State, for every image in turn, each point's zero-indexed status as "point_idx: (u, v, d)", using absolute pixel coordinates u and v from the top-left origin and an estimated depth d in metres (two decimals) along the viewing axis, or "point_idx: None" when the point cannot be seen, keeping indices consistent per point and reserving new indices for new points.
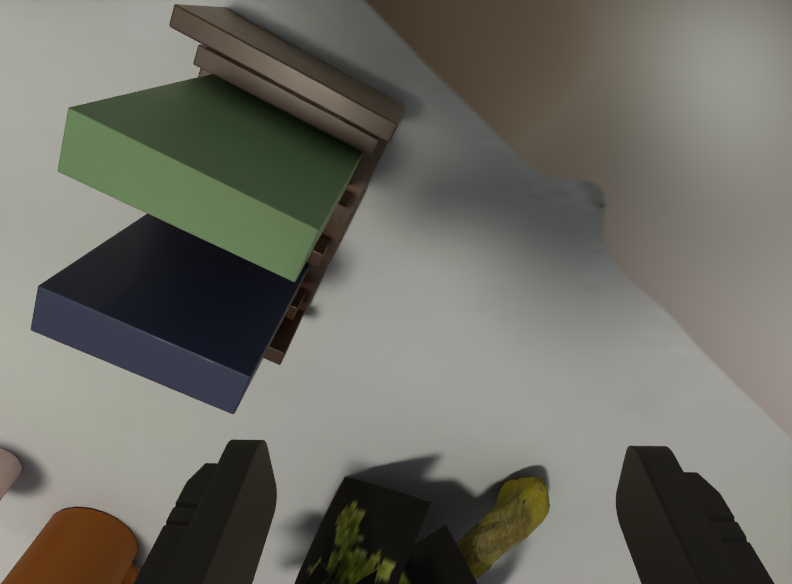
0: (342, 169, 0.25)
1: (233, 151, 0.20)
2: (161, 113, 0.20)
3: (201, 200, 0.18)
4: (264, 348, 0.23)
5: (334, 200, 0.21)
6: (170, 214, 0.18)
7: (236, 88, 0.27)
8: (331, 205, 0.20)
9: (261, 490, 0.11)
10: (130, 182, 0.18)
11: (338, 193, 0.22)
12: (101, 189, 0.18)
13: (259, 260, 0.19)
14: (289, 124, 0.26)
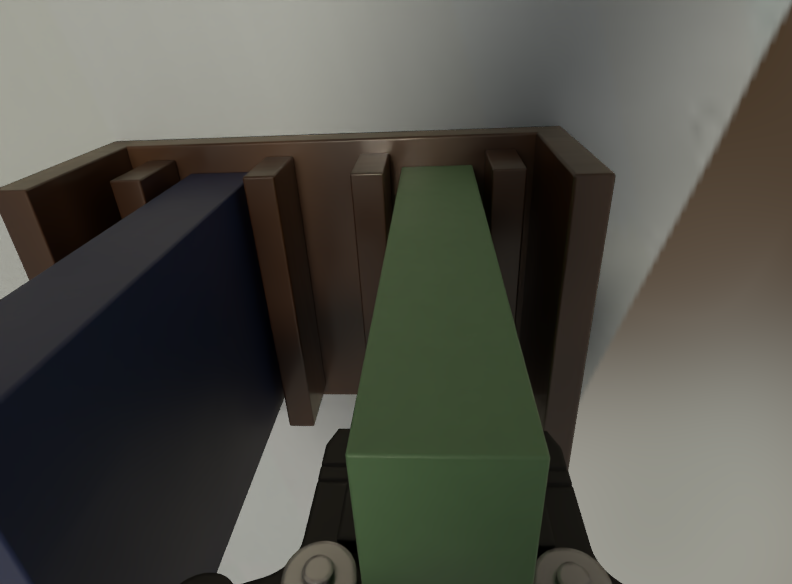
0: None
1: None
2: None
3: None
4: None
5: None
6: None
7: None
8: None
9: None
10: (422, 583, 0.07)
11: None
12: (364, 541, 0.07)
13: None
14: None
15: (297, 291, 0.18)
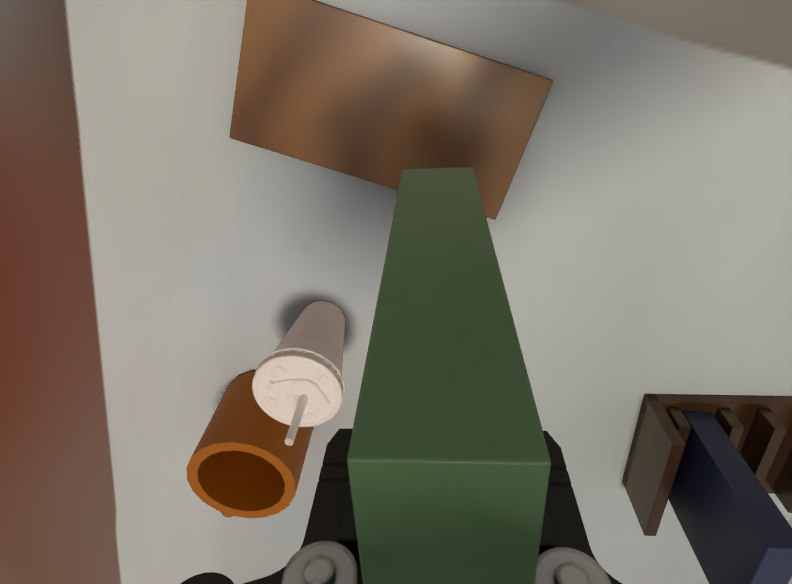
0: None
1: None
2: None
3: None
4: None
5: None
6: None
7: None
8: None
9: None
10: None
11: None
12: (365, 545, 0.07)
13: None
14: None
15: None
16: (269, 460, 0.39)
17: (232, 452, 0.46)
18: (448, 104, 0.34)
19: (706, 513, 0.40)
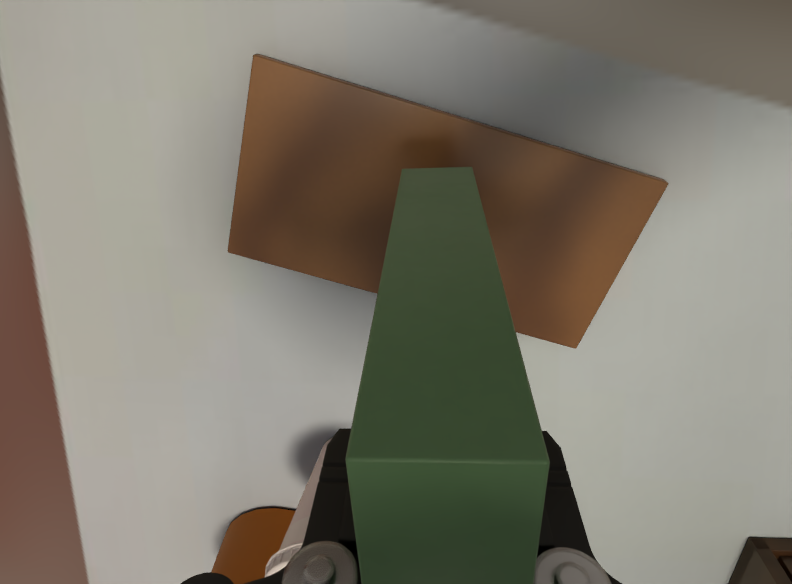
0: None
1: None
2: None
3: None
4: None
5: None
6: None
7: None
8: None
9: None
10: None
11: None
12: (364, 545, 0.07)
13: None
14: None
15: None
16: None
17: None
18: (522, 212, 0.25)
19: None
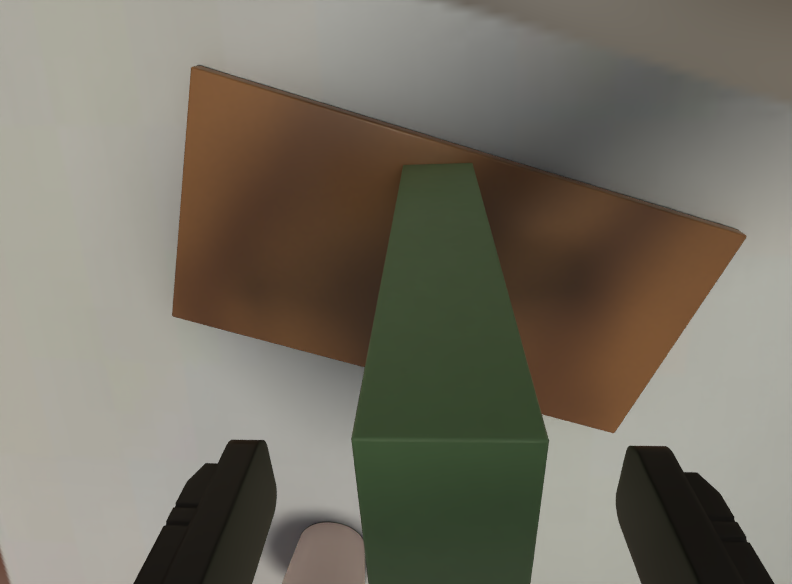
0: None
1: None
2: None
3: None
4: None
5: None
6: None
7: None
8: None
9: (261, 490, 0.11)
10: (425, 565, 0.07)
11: None
12: (369, 524, 0.07)
13: None
14: None
15: None
16: None
17: None
18: (551, 270, 0.19)
19: None
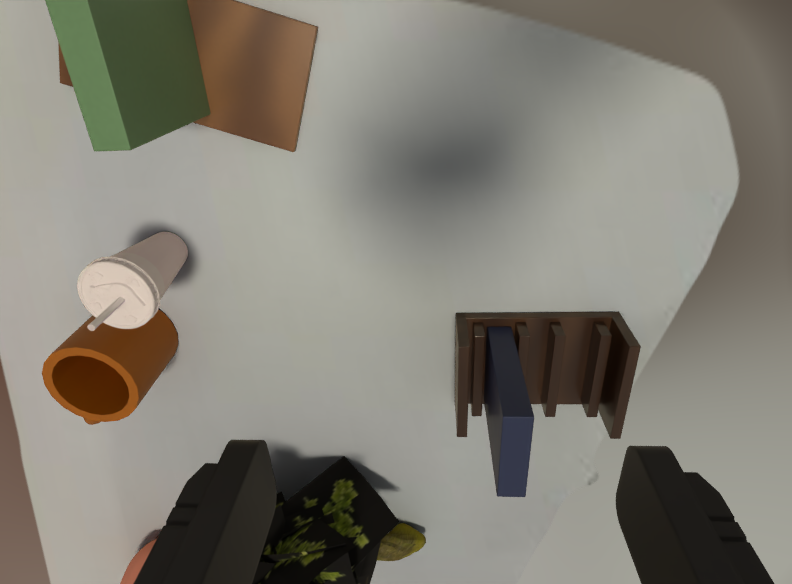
0: (181, 120, 0.38)
1: (136, 67, 0.32)
2: (123, 12, 0.31)
3: (94, 79, 0.30)
4: None
5: (156, 137, 0.34)
6: (71, 63, 0.29)
7: (182, 13, 0.38)
8: (151, 140, 0.34)
9: (261, 490, 0.11)
10: (70, 32, 0.28)
11: (162, 135, 0.35)
12: (51, 15, 0.28)
13: (89, 126, 0.31)
14: (185, 65, 0.38)
15: None
16: (110, 364, 0.46)
17: (99, 370, 0.53)
18: (234, 49, 0.40)
19: (491, 407, 0.47)
